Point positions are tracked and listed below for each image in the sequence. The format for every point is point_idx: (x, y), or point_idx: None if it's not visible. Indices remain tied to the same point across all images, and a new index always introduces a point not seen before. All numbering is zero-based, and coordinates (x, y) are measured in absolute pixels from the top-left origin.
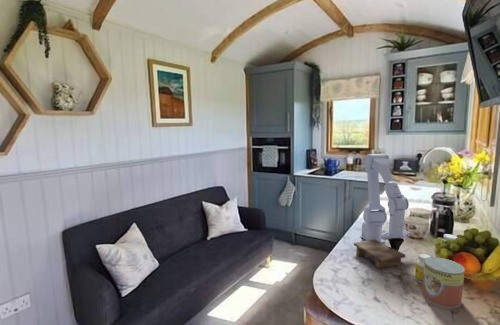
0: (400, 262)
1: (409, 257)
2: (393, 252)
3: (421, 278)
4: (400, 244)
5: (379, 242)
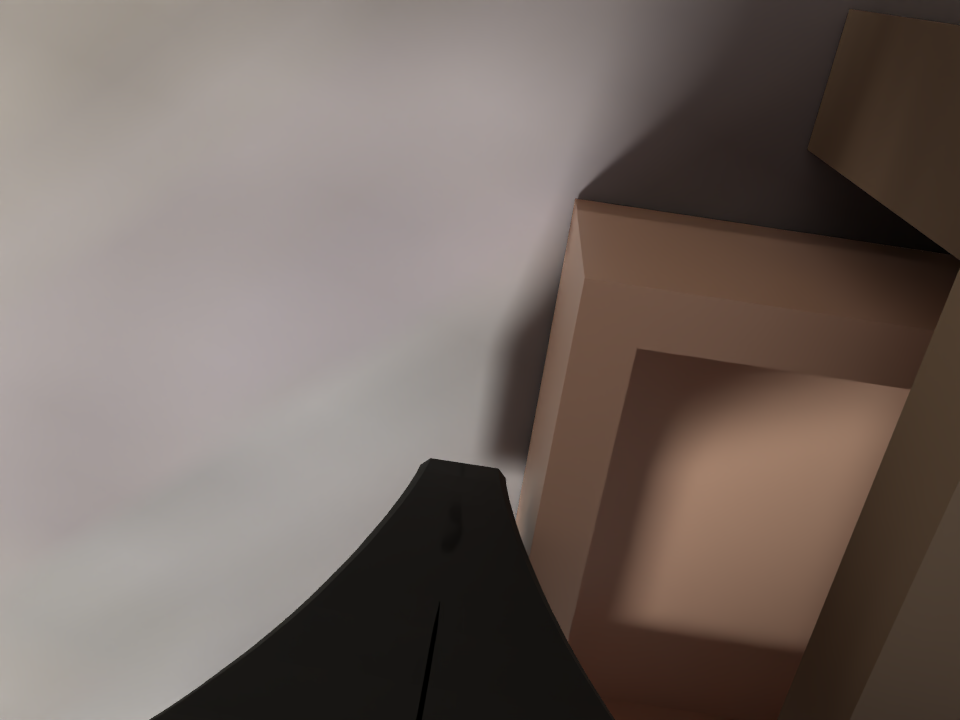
0: (886, 14)
1: (67, 190)
2: None
3: None
4: (277, 714)
5: None
